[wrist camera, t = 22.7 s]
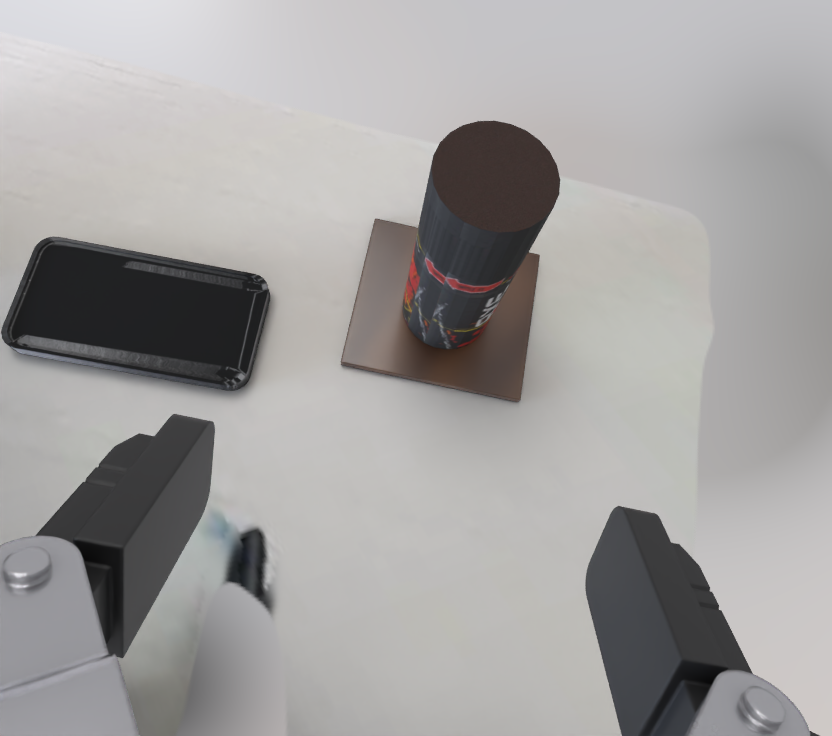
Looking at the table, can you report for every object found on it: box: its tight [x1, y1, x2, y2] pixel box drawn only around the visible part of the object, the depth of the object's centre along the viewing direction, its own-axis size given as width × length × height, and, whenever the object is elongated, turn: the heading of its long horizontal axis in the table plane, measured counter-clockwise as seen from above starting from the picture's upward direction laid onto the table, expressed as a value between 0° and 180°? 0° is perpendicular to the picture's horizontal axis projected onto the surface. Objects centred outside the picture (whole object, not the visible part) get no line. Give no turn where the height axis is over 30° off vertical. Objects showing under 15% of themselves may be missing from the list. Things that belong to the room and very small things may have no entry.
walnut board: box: [341, 219, 540, 402], centre depth 43 cm, size 12×11×1 cm
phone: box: [1, 237, 270, 390], centre depth 40 cm, size 8×1×15 cm
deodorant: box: [402, 121, 560, 349], centre depth 35 cm, size 6×6×15 cm
